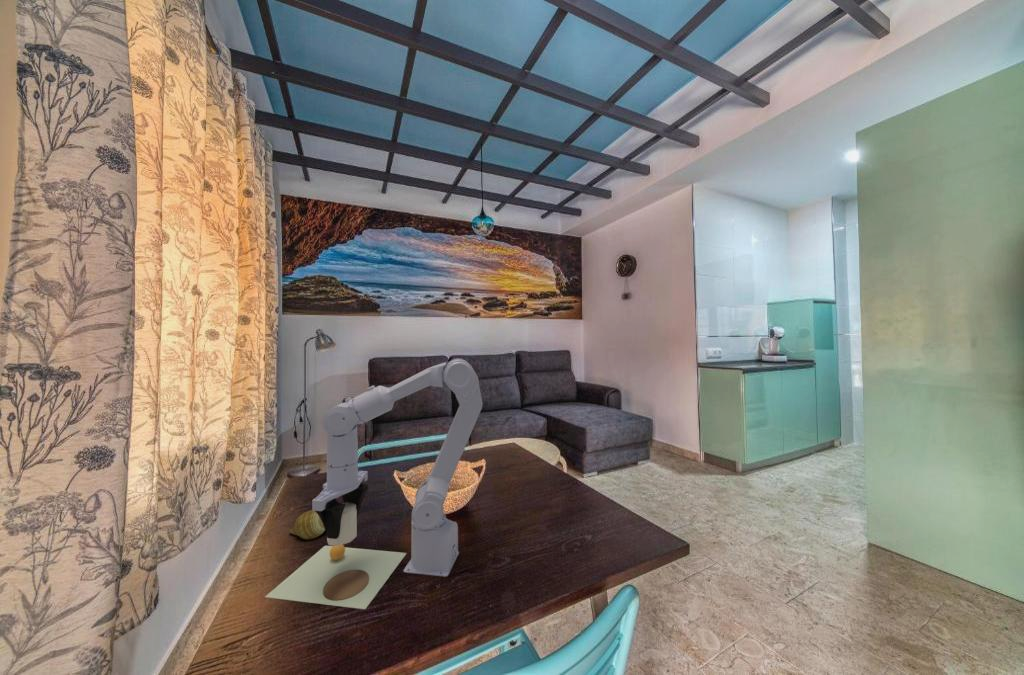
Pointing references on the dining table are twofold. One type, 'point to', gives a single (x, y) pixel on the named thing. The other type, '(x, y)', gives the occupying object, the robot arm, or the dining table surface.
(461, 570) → the dining table surface
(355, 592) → the coaster
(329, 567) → the placemat
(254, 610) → the dining table surface
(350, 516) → the cup
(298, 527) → the seashell
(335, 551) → the ball
